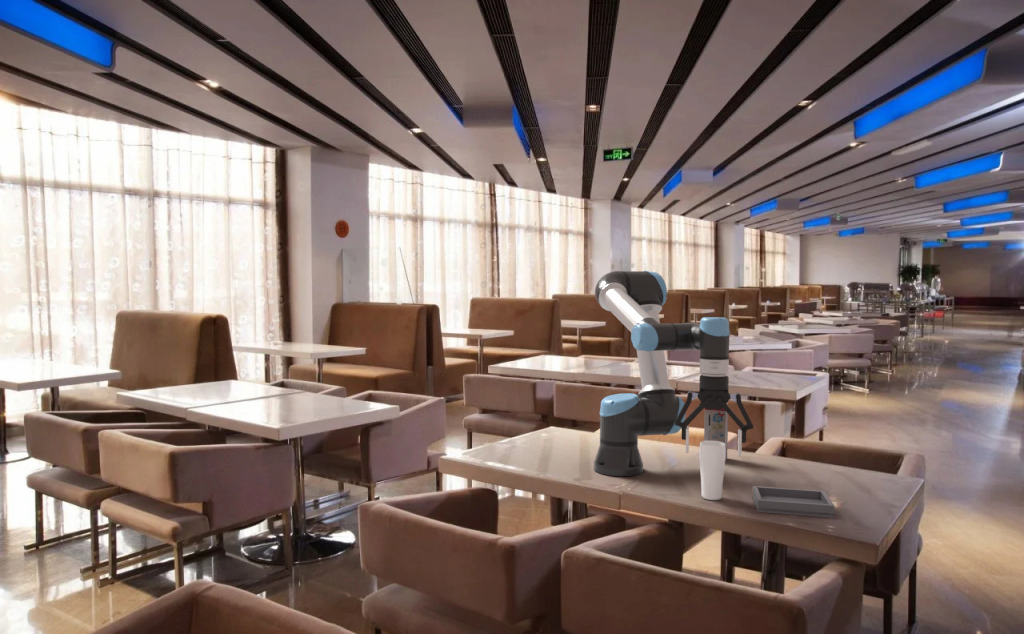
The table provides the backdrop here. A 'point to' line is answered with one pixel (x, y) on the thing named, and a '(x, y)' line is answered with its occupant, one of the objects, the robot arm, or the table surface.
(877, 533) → the table surface
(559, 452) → the table surface
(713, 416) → the juice carton
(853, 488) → the table surface
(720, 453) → the drinking glass
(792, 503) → the tray
